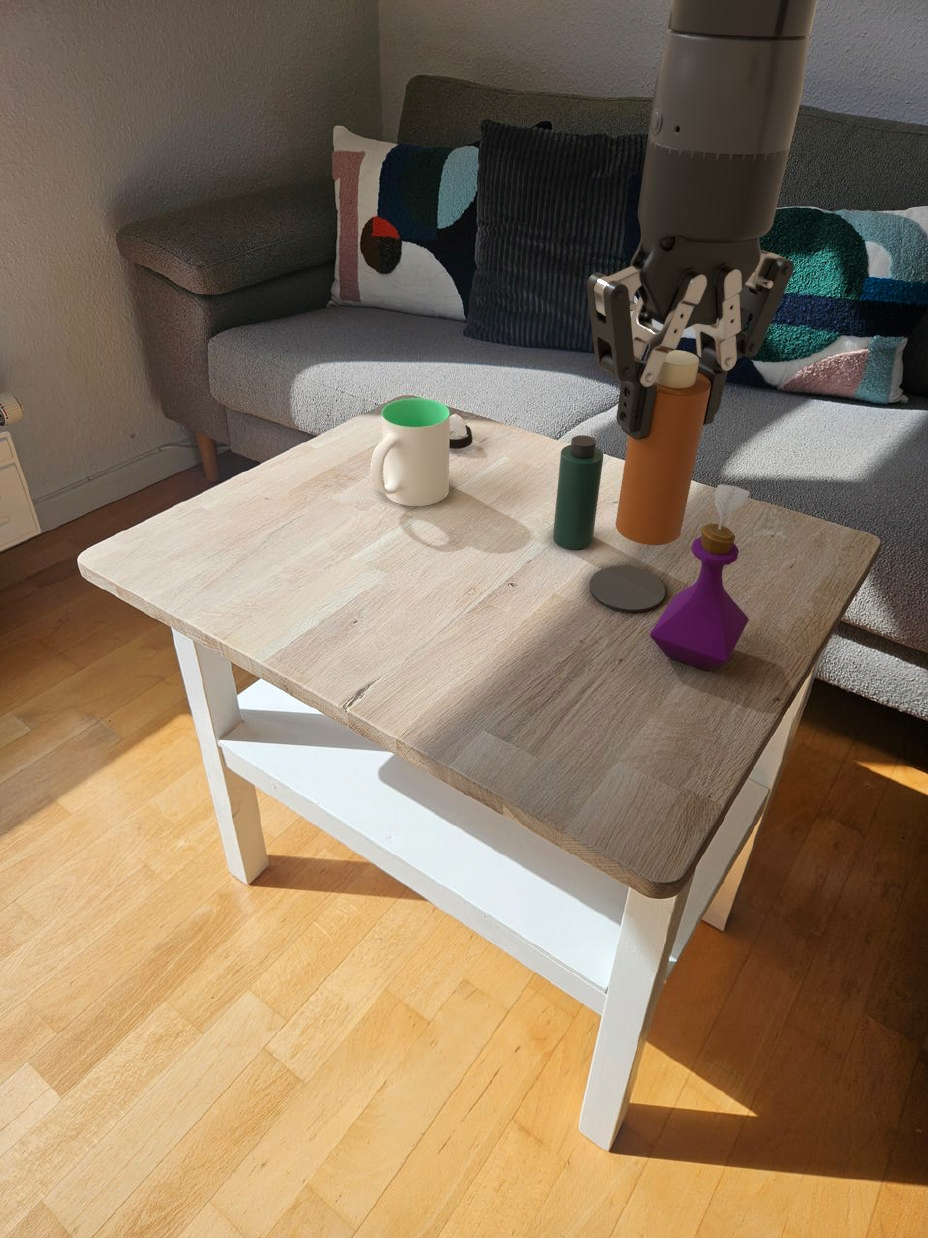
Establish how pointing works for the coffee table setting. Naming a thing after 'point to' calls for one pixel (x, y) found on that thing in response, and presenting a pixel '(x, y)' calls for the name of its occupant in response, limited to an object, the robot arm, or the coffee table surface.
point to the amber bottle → (664, 455)
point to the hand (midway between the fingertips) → (666, 425)
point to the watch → (460, 433)
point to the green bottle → (577, 493)
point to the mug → (413, 452)
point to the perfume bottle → (706, 597)
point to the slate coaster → (627, 589)
